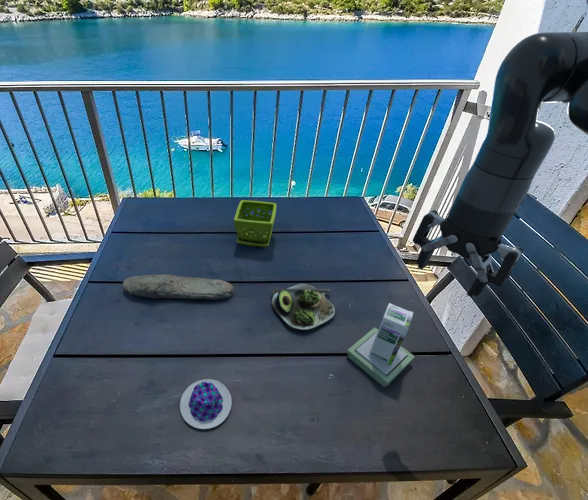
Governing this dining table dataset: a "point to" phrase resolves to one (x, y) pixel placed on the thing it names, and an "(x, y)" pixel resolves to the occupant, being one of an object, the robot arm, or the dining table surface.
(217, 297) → the elongated rock
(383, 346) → the syrup box
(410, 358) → the scale
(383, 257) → the dining table surface
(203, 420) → the pudding
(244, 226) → the flower pot
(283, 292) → the salad plate
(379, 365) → the pan
